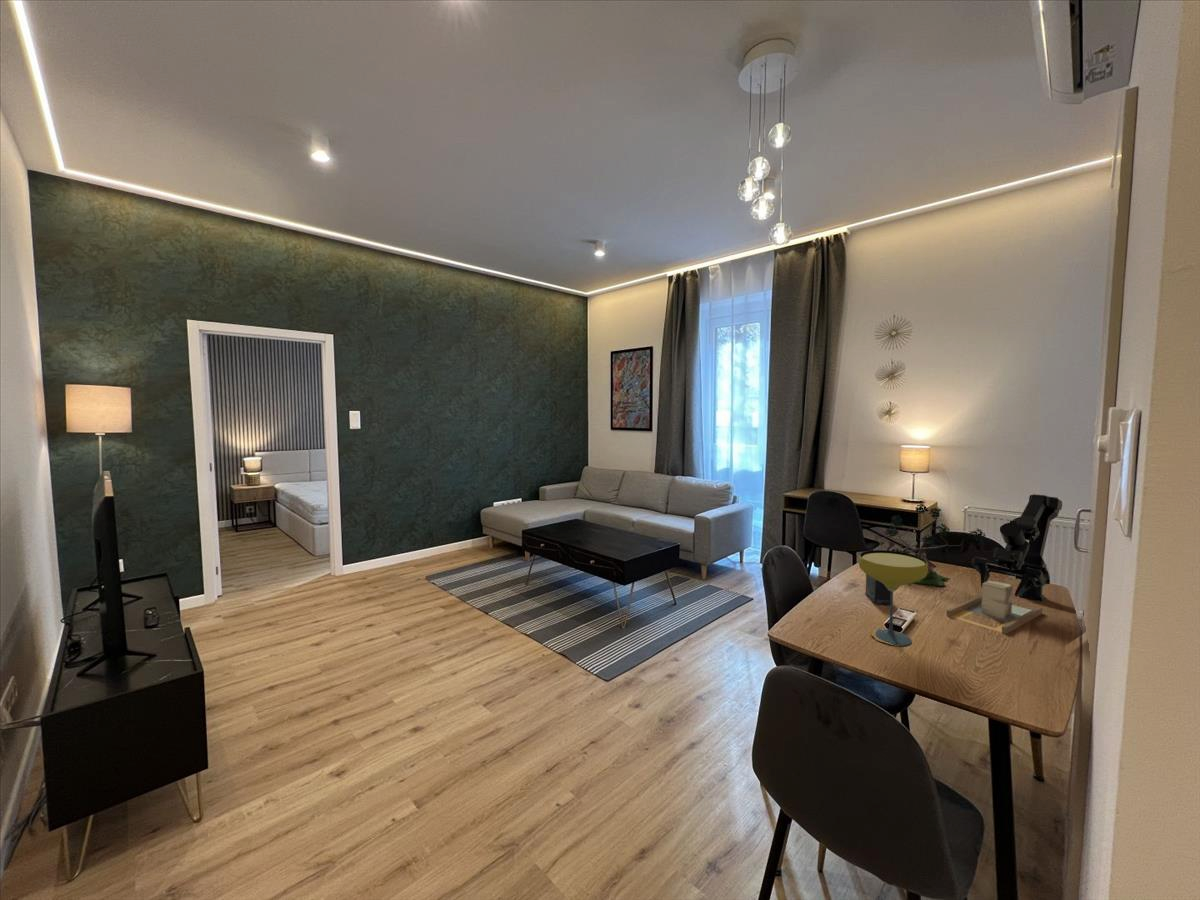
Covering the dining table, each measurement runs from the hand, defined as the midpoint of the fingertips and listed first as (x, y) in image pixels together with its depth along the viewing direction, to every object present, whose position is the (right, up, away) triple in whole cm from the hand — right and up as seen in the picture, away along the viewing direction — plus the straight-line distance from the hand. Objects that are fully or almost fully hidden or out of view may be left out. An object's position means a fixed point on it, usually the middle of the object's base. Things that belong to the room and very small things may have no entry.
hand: (998, 591), depth 162 cm
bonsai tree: (0, -7, +34) cm, 34 cm away
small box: (-29, -9, +18) cm, 35 cm away
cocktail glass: (-43, -11, -12) cm, 46 cm away
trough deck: (-2, -9, -1) cm, 9 cm away
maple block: (-1, -7, 0) cm, 7 cm away
